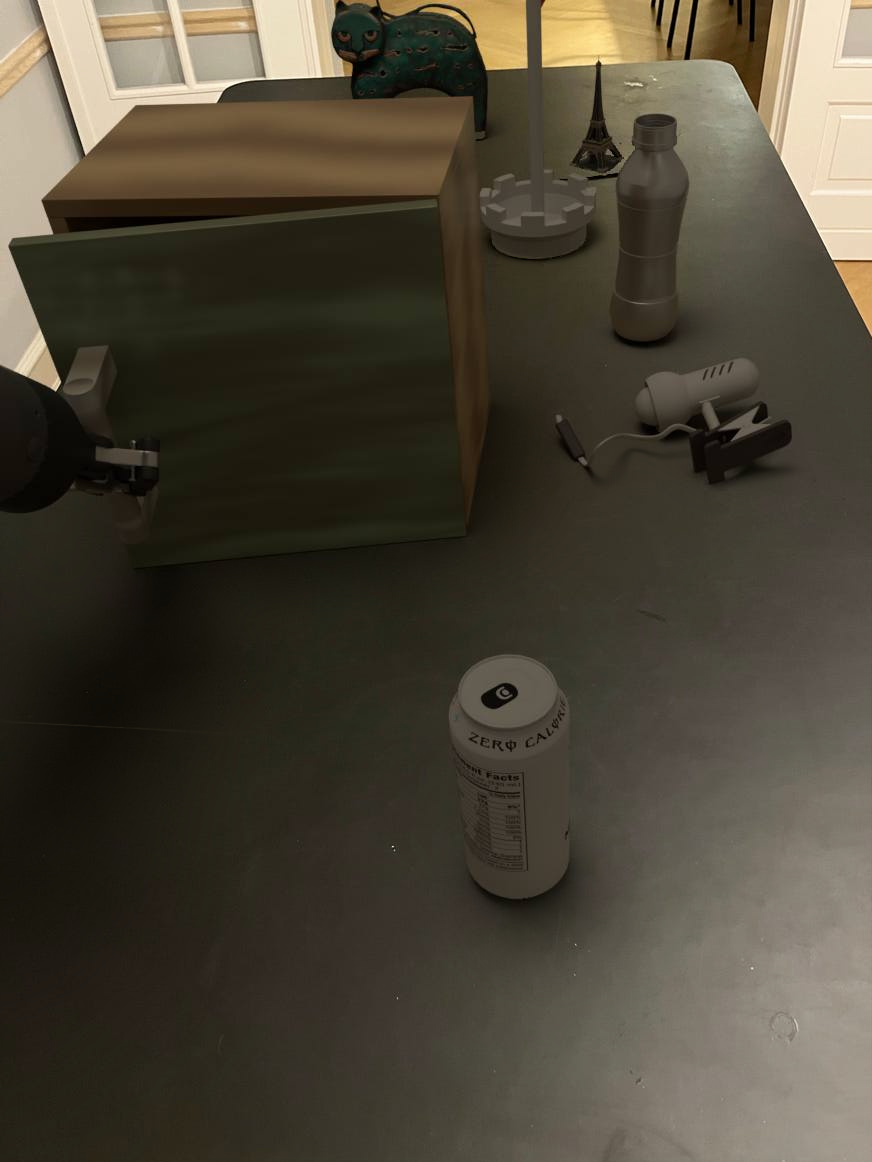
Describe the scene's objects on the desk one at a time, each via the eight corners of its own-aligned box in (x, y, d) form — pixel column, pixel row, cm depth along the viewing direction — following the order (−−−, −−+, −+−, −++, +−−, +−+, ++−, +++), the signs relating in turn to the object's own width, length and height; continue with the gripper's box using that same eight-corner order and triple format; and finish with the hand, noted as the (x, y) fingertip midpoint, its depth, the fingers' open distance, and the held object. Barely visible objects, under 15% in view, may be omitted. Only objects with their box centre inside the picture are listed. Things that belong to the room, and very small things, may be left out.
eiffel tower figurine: (642, 144, 139) (648, 32, 130) (664, 172, 132) (671, 55, 122) (532, 157, 138) (530, 45, 129) (548, 186, 131) (547, 70, 121)
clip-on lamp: (584, 527, 87) (797, 464, 85) (569, 473, 82) (794, 404, 80) (558, 438, 94) (753, 378, 92) (543, 383, 90) (748, 319, 87)
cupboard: (467, 526, 83) (438, 194, 65) (153, 518, 87) (40, 199, 68) (491, 403, 96) (472, 96, 77) (216, 400, 99) (135, 104, 81)
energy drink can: (591, 870, 60) (595, 697, 50) (507, 927, 58) (493, 758, 47) (528, 803, 64) (520, 628, 53) (447, 854, 62) (421, 682, 51)
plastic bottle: (622, 313, 107) (630, 104, 92) (685, 324, 104) (704, 111, 90) (599, 343, 103) (604, 129, 88) (664, 355, 100) (680, 138, 86)
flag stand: (563, 272, 114) (562, -50, 93) (461, 252, 119) (438, -58, 98) (613, 225, 122) (623, -82, 100) (515, 208, 127) (505, -88, 105)
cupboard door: (472, 586, 78) (443, 248, 60) (120, 621, 78) (-19, 291, 59) (465, 526, 83) (436, 198, 65) (135, 558, 83) (12, 237, 64)
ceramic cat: (346, 153, 143) (322, -15, 129) (350, 136, 148) (327, -28, 133) (491, 143, 142) (482, -26, 128) (490, 127, 147) (482, -39, 133)
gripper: (105, 361, 53) (222, 427, 71) (-146, 359, 55) (29, 425, 72) (100, 507, 54) (219, 538, 71) (-150, 502, 55) (26, 533, 72)
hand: (122, 481), depth 71 cm, fingers closed on cupboard door, 2 cm apart
